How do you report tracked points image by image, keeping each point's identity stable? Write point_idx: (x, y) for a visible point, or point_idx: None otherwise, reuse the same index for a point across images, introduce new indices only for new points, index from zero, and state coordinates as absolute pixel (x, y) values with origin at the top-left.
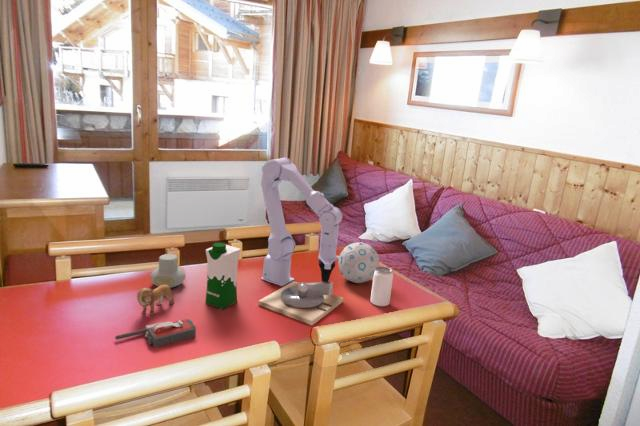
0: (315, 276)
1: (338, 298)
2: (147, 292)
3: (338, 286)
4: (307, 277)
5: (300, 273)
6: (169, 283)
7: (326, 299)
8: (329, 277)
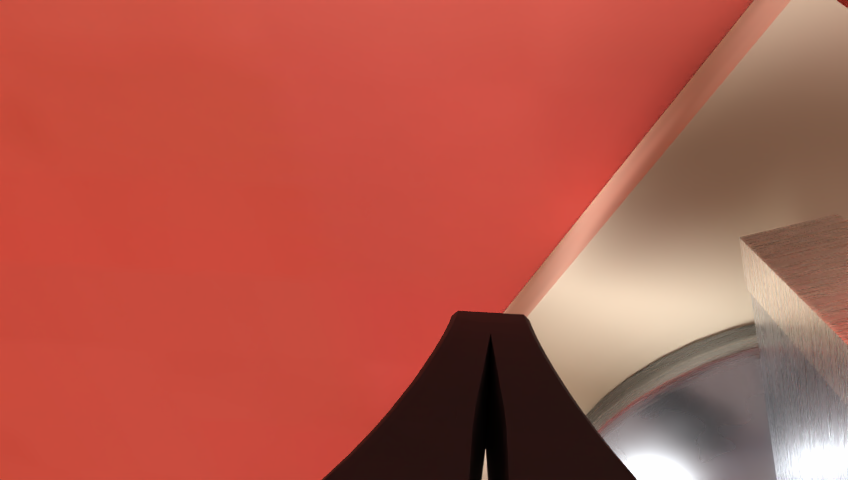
0: (50, 310)
1: (822, 75)
2: None
3: (214, 32)
4: (118, 385)
5: (58, 436)
6: None
7: None
8: (550, 362)
